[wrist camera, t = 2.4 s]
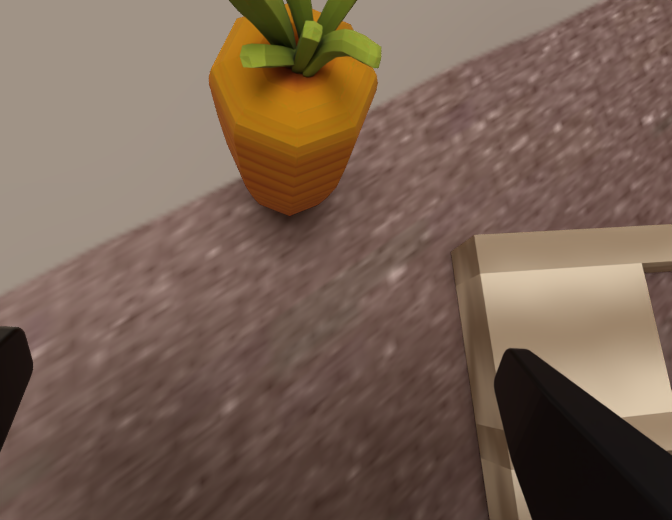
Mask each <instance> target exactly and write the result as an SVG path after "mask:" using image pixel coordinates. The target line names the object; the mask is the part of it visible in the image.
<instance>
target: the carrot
mask: <svg viewBox="0 0 672 520" xmlns="http://www.w3.org/2000/svg"><path fill="white" fill-rule="evenodd" d="M229 1H230V2H231V3H232V4H233V6H234V7H235V8H236V9H237V10H238V11H239V12H240V13H241V14H242V15H243V16H244V17H241V18H237V19H236V21H235V23H234V25H233V27H232V29H231V31H230V33H229V35H228V37H227V39H226V41H225V43H224V45H223V47H222V48H221V50H220V52H219V54H218V56H217V58H216V60H215V62H214V64H213V66H212V68H211V71H210V74H209V86H210V89H211V93H212V97H213V100H214V104H215V108H216V111H217V115H218V118H219V121H220V124H221V127H222V130H223V133H224V136H225V139H226V142H227V145H228V147H229V150H230V152H231V154H232V156H233V158H234V161H235V163H236V165H237V168H238V170H239V172H240V174H241V177H242V179H243V181H244V184H245V186H246V187H247V189H248V190H249V192H250V193H251V195H252V196H253V198H254V199H255V200H256V201H257V202H258V203H259V204H260V205H263V206H265V207H268V208H270V209H273V210H275V211H278V212H280V213H283V214H286V215H288V216H291V215H293V214H296V213H298V212H301V211H303V210H306V209H309V208H311V207H314V206H316V205H319V204H320V203H321V202H322V201H323V200H324V199H326V198H327V197H328V196H329V195H330V194H331V193H332V191H333V190H334V189H335V188H336V187H337V185H338V183H339V181H340V178H341V176H342V174H343V172H344V170H345V168H346V165H347V163H348V160H349V158H350V155H351V153H352V150H353V148H354V145H355V143H356V140H357V138H358V135H359V133H360V130H361V128H362V125H363V123H364V120H365V118H366V115H367V113H368V110H369V108H370V105H371V103H372V100H373V98H374V95H375V92H376V90H377V84H378V82H377V75H376V73H375V71H374V69H373V68H379V64H380V61H381V46H379V45H378V44H376V43H375V42H373V41H372V40H371V39H369V38H368V37H367V36H365V35H363V34H360V33H358V32H356V31H354V30H353V28H352V26H351V24H348V23H346V22H343V19H344V18H345V16H346V15H347V13H348V12H349V11H350V9H351V8H352V7H353V5H354V4H355V3H356V1H357V0H328V1H327V3H326V5H325V7H324V9H323V11H322V13H321V12H318V11H316V10H314V9H312V4H311V0H286V1H287V4H284V2H283V0H229Z"/></svg>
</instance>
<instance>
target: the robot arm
mask: <svg viewBox="0 0 672 520" xmlns="http://www.w3.org/2000/svg"><path fill="white" fill-rule="evenodd" d="M32 371H33V360H32V356H31V353H30V349H29V346H28V342H27V338H26V335H25V332H24V331H23V330H22V329H21V328H19V327H7V326H0V451H1V449H2V447H3V444H4V442H5V440H6V437H7V435H8V432H9V430H10V427H11V425H12V422H13V420H14V417H15V415H16V412H17V410H18V407H19V405H20V402H21V400H22V397H23V395H24V392H25V390H26V387H27V385H28V382H29V380H30V377H31V375H32ZM494 391H495V396H496V400H497V404H498V408H499V412H500V417H501V421H502V425H503V429H504V433H505V438H506V442H507V446H508V450H509V454H510V458H511V461H512V464H513V467H514V470H515V473H516V476H517V479H518V482H519V485H520V487H521V490H522V493H523V496H524V499H525V501H526V504H527V507H528V510H529V513H530V516H531V518H532V520H672V455H671V454H670V453H669V452H667V451H666V450H665V449H663V448H662V447H660V446H659V445H658V444H656V443H655V442H654V441H652V440H651V439H650V438H648V437H647V436H646V435H644V434H643V433H641V432H640V431H639V430H637V429H636V428H635V427H633V426H632V425H631V424H629V423H628V422H627V421H625V420H624V419H622V418H621V417H620V416H618V415H617V414H616V413H614V412H613V411H612V410H610V409H609V408H608V407H606V406H605V405H603V404H602V403H601V402H599V401H598V400H597V399H595V398H594V397H593V396H591V395H590V394H589V393H587V392H586V391H585V390H583V389H582V388H580V387H579V386H578V385H576V384H575V383H574V382H572V381H571V380H570V379H568V378H567V377H566V376H564V375H563V374H561V373H560V372H559V371H557V370H556V369H555V368H553V367H552V366H551V365H549V364H548V363H547V362H545V361H544V360H542V359H541V358H540V357H538V356H537V355H536V354H534V353H533V352H532V351H530V350H528V349H524V348H508V349H506V350H505V352H504V354H503V356H502V359H501V361H500V364H499V367H498V370H497V372H496V375H495V378H494Z"/></svg>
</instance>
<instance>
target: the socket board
mask: <svg viewBox="0 0 672 520" xmlns="http://www.w3.org/2000/svg"><path fill="white" fill-rule="evenodd" d="M451 256H452V263H453V270H454V277H455V284H456V291H457V298H458V304H459V311H460V318H461V325H462V332H463V339H464V346H465V353H466V360H467V367H468V374H469V380H470V387H471V394H472V401H473V408H474V415H475V422H476V429H477V436H478V443H479V450H480V456H481V463H482V470H483V477H484V484H485V491H486V498H487V505H488V512H489V519H490V520H532V518H531V516H530V513H529V510H528V507H527V504H526V501H525V499H524V496H523V493H522V490H521V487H520V485H519V482H518V479H517V476H516V473H515V470H514V467H513V464H512V461H511V458H510V454H509V450H508V446H507V442H506V438H505V433H504V429H503V425H502V421H501V417H500V412H499V408H498V404H497V400H496V396H495V391H494V378H495V375H496V372H497V370H498V367H499V364H500V361H501V359H502V356H503V354H504V352H505V350H506V349H508V348H524V349H528V350H530V351H532V352H533V353H534V354H536V355H537V356H538V357H540V358H541V359H542V360H544V361H545V362H547V363H548V364H549V365H551V366H552V367H553V368H555V369H556V370H557V371H559V372H560V373H561V374H563V375H564V376H566V377H567V378H568V379H570V380H571V381H572V382H574V383H575V384H576V385H578V386H579V387H580V388H582V389H583V390H585V391H586V392H587V393H589V394H590V395H591V396H593V397H594V398H595V399H597V400H598V401H599V402H601V403H602V404H603V405H605V406H606V407H608V408H609V409H610V410H612V411H613V412H614V413H616V414H617V415H618V416H620V417H621V418H622V419H624V420H625V421H627V422H628V423H629V424H631V425H632V426H633V427H635V428H636V429H637V430H639V431H640V432H641V433H643V434H644V435H646V436H647V437H648V438H650V439H651V440H652V441H654V442H655V443H656V444H658V445H659V446H660V447H662V448H663V449H665V450H666V451H667V452H669V453H670V454H671V455H672V391H671V387H670V383H669V378H668V374H667V370H666V365H665V361H664V357H663V353H662V348H661V344H660V340H659V335H658V331H657V327H656V323H655V318H654V314H653V310H652V305H651V301H650V297H649V293H648V288H647V284H646V280H645V275H644V273H654V272H668V271H672V224H668V225H650V226H631V227H613V228H594V229H576V230H558V231H539V232H521V233H502V234H484V235H474V236H472V237H471V238H469V239H468V240H467V241H465V242H464V243H462V244H461V245H460V246H458V247H457V248H456V249H454V250H453V251H451Z"/></svg>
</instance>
